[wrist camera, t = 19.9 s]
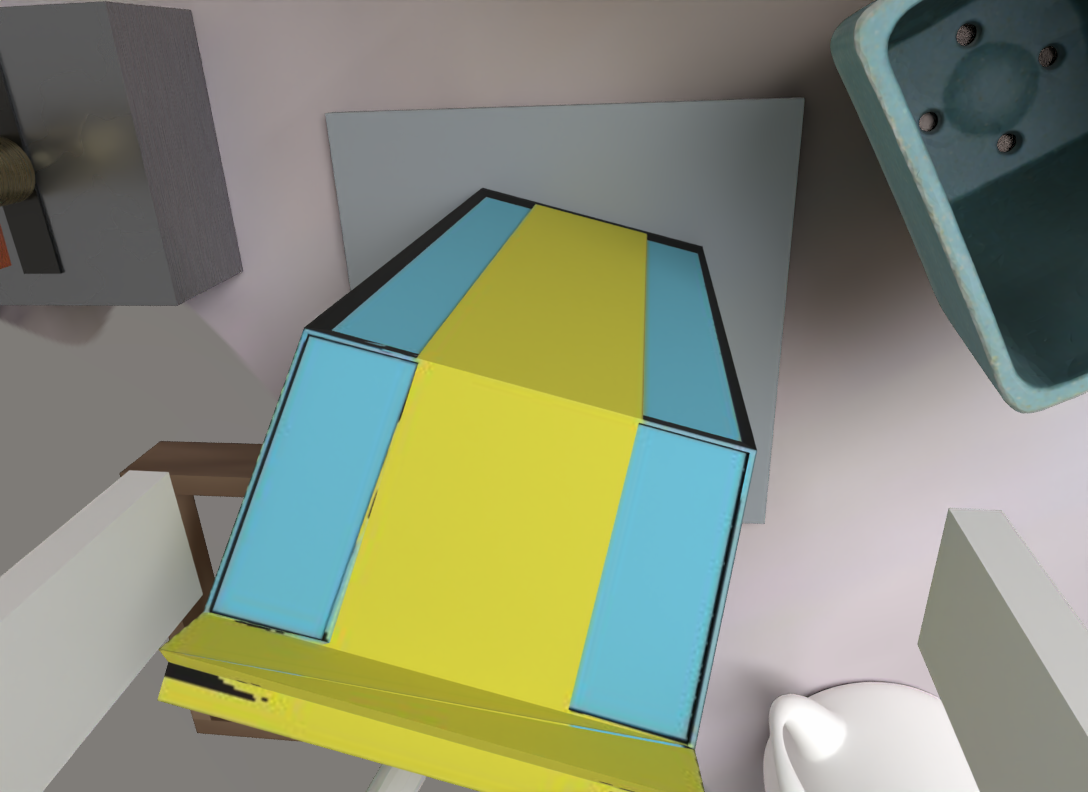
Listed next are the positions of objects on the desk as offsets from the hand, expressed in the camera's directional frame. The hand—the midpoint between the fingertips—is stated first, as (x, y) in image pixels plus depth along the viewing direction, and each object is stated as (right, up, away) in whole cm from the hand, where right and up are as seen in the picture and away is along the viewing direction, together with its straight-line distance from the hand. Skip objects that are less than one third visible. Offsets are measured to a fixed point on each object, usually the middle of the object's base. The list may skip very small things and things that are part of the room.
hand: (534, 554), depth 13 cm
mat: (+1, +5, +12) cm, 13 cm away
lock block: (-14, +11, +12) cm, 21 cm away
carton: (+1, +5, +12) cm, 13 cm away
